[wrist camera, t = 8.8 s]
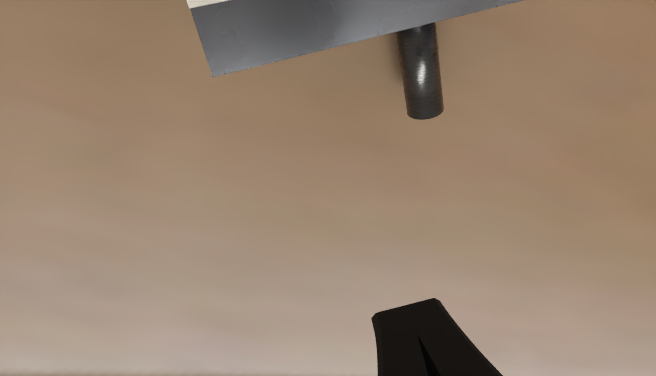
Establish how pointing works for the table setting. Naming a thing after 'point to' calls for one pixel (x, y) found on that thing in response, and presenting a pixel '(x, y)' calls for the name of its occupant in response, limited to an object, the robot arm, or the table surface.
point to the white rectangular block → (202, 2)
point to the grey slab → (333, 35)
